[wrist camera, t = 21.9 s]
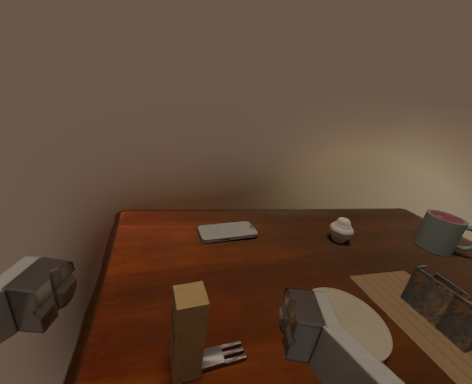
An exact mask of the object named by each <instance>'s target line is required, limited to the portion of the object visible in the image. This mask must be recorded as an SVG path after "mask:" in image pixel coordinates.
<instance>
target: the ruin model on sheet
mask: <svg viewBox="0 0 472 384" xmlns="http://www.w3.org/2000/svg"><path fill="white" fill-rule="evenodd" d="M426 267H427V266H426V265H422V266H416V267H415V269H414V271H413V273H412V275H410V274H408V273H407V272H406V271H396V272H386V273H377V274H367V275H357V276H349V277H350V278H351V279H352V280H353V281H354V282H355V283H356V284H357V285H358V286H359V287H360V288H361V289H362V290H363V291H364V292H365V293H366V294H367V295H368V296H369V297H370V298H371V299H372V300H373V301H374V302H375V303H376V304H377V305H378V306H379V307H380V308H381V309H382V310H383V311H384V312H385V313H386V314H387V315H388V316H389V317H390V318H391V319H392V320H393V321H394V322H395V323H396V324H397V325H398V326H399V327H400V328H401V329H402V330H403V331H404V332H405V333H406V334H407V335H408V336H409V337H410V338H411V339H412V340H413V341H414V342H415V343H416V344H417V345H418V346H419V347H420V348H421V349H422V350H423V351H424V352H425V353H426V354H427V355H428V356H429V357H430V358H431V359H432V360H433V361H434V362H435V363H436V364H437V365H438V366H439V367H440V368H441V369H442V370H443V371H444V372H445V373H446V374H447V375H448V376H449V377H450V378H451V379H452V380H453V381H454V382H455V383H456V384H472V296H471V295H469V294H468V293H466V292H465V291H463V290H462V289H460V288H459V287H457V286H456V285H454V284H453V283H451V282H450V281H448V280H447V279H445V278H444V277H442V276H441V275H439V274H438V273H436V274H435V276H434V278H433V277H432V276H431V275H429V274H428V273H426V272H425V269H426Z"/></svg>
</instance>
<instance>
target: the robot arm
mask: <svg viewBox="0 0 472 384" xmlns="http://www.w3.org/2000/svg"><path fill="white" fill-rule="evenodd" d="M74 270H75V269H74V264H73V262H70V261H66V260H59V259H51V258H45V257H43V258H42V257H36V256H27V257H24V258H22V259H21V260H20V261H18V262H17V263H16V264H14V265H13V266H12V267H10V268H9V269H7V270H6V271H5V272H3V273H2V274H1V275H0V343H2V342H3V341H5V340H6V339H8V338H10V337H11V336H13V335H14V334H16V333H17V331H22V332H33V333H44V332H45V331H46V330H47V329H48V328H49V326H50V325H51V324H52V323H53V322H54V320H55V319H56V318H57V317H58V310H59V309H61V308H63V307H65V306H67V305H68V303H69V302H70V301H71V300H72V298H73V296H74V293H75V292H76V287H77V281H76V279H75V277H74V276H73V275H72V272H73V271H74ZM283 296H284V301H283V302H282V303H281V305H280V309H279V327H280V331H281V332H282V333H283V334H284V336H283V339H282V345H283V351H284V356H285V360H290V361H297V362H304V363H309V366H310V367H311V369H312V370H313V372H314V373H315V375H316V376H317V377H318V379H319V380H320V382H321V383H322V384H405V383H404V382H403V381H402V380H401V379H400V378H398V377H397V376H396V375H395V374H394V373H393V372H392V371H391V370H390V369H389V368H388V367H387V366H385V365H384V364H383V363H382V362H381V361H380V360H379V359H378V358H377V357H376V356H375V355H373V354H372V353H371V352H370V351H369V350H368V349H367V348H366V347H365V346H364V345H363V344H362V343H360V342H359V341H358V340H357V339H356V338H355V337H354V336H353V335H352V334H351V333H350V332H348V331H347V330H343V329H342V326H341V324H340V322H339V320H338V317H337V315H336V313H335V311H334V309H333V306H332V304H331V302H330V300H329V297H328V295H327V293H326V292H325V291H315V290H305V289H296V288H287V287H286V289H285V291H284V294H283Z"/></svg>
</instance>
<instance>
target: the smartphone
mask: <svg viewBox="0 0 472 384" xmlns="http://www.w3.org/2000/svg"><path fill="white" fill-rule="evenodd" d="M197 232H198V234H199V236H200V239H201V241H202V242H203V243H212V242H220V241H228V240H236V239H245V238H253V237H257V236H258V231H257V230H256V229H255V228H254V227H253V226H252V224H251V223H250V222H248V221H241V222H231V223H220V224H209V225H199V226H197Z"/></svg>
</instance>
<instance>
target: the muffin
mask: <svg viewBox="0 0 472 384" xmlns="http://www.w3.org/2000/svg"><path fill="white" fill-rule="evenodd" d="M330 233H331V238H332V240H333V241H335V242H337V243H344V242H345V241H346V240H348V239H349V238H350V237H351V236H352V235H353V233H354V231H353V229H352V227H351V222H350V220H349V219H347V218H344V217H340V218H338V219H337V221H335V222H333V223H331V224H330Z"/></svg>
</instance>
